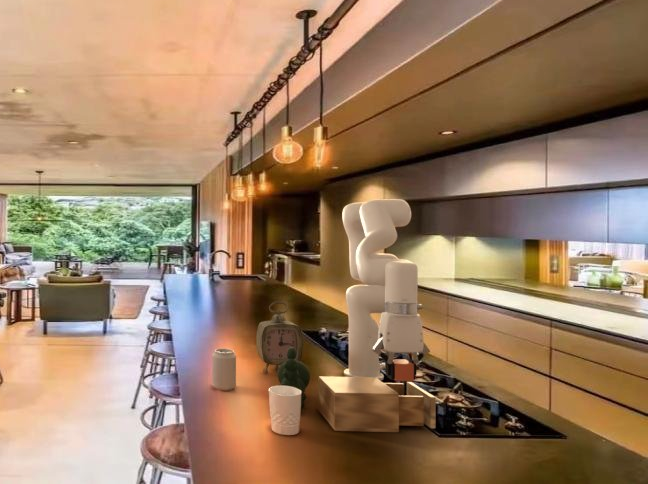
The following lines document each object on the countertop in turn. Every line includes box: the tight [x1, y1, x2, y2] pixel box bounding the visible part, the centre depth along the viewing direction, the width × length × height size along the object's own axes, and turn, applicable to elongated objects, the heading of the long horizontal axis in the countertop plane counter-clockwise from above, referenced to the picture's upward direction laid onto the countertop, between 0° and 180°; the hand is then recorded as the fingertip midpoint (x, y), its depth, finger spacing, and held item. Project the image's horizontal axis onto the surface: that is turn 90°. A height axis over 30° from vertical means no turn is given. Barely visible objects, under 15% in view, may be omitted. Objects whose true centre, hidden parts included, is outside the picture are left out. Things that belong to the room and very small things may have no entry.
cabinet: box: [318, 375, 400, 433], centre depth 126 cm, size 16×14×10 cm
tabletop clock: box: [255, 301, 304, 375], centre depth 171 cm, size 14×9×25 cm, turn 91°
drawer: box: [383, 381, 447, 429], centre depth 125 cm, size 19×12×8 cm, turn 87°
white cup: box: [268, 384, 302, 436], centre depth 120 cm, size 8×8×10 cm
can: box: [211, 348, 237, 392], centre depth 153 cm, size 8×8×12 cm
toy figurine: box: [277, 347, 311, 410], centre depth 140 cm, size 9×19×25 cm
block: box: [393, 358, 415, 382], centre depth 126 cm, size 4×4×4 cm
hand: (400, 377), depth 126 cm, fingers closed on block, 4 cm apart
